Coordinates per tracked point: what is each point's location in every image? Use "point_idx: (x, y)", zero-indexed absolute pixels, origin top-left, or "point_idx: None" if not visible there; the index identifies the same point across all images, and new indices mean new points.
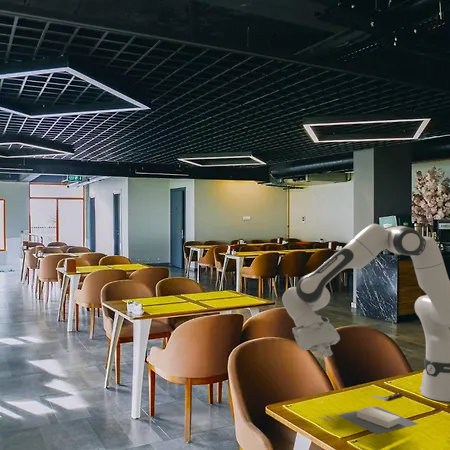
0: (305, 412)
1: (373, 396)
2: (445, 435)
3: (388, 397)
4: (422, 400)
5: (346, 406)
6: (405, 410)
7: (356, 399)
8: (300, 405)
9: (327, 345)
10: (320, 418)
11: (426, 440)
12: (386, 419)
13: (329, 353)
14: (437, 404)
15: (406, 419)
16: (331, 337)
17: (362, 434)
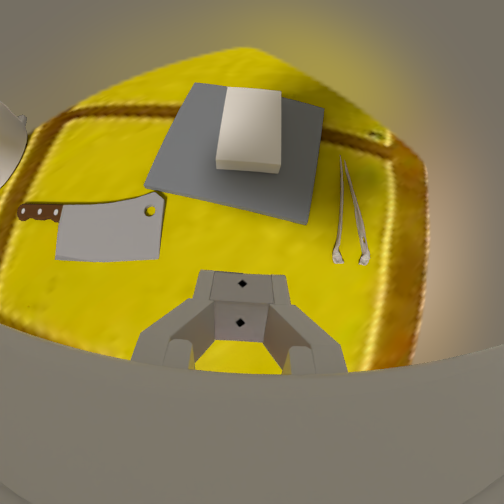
0: (349, 315)
1: (60, 252)
2: (205, 54)
3: (56, 209)
4: (33, 161)
5: (195, 261)
6: (112, 142)
7: (111, 275)
8: None
9: (189, 342)
10: (366, 241)
11: (255, 61)
12: (269, 97)
13: (249, 275)
14: (44, 132)
15: (187, 102)
16: (9, 369)
17: (338, 134)
